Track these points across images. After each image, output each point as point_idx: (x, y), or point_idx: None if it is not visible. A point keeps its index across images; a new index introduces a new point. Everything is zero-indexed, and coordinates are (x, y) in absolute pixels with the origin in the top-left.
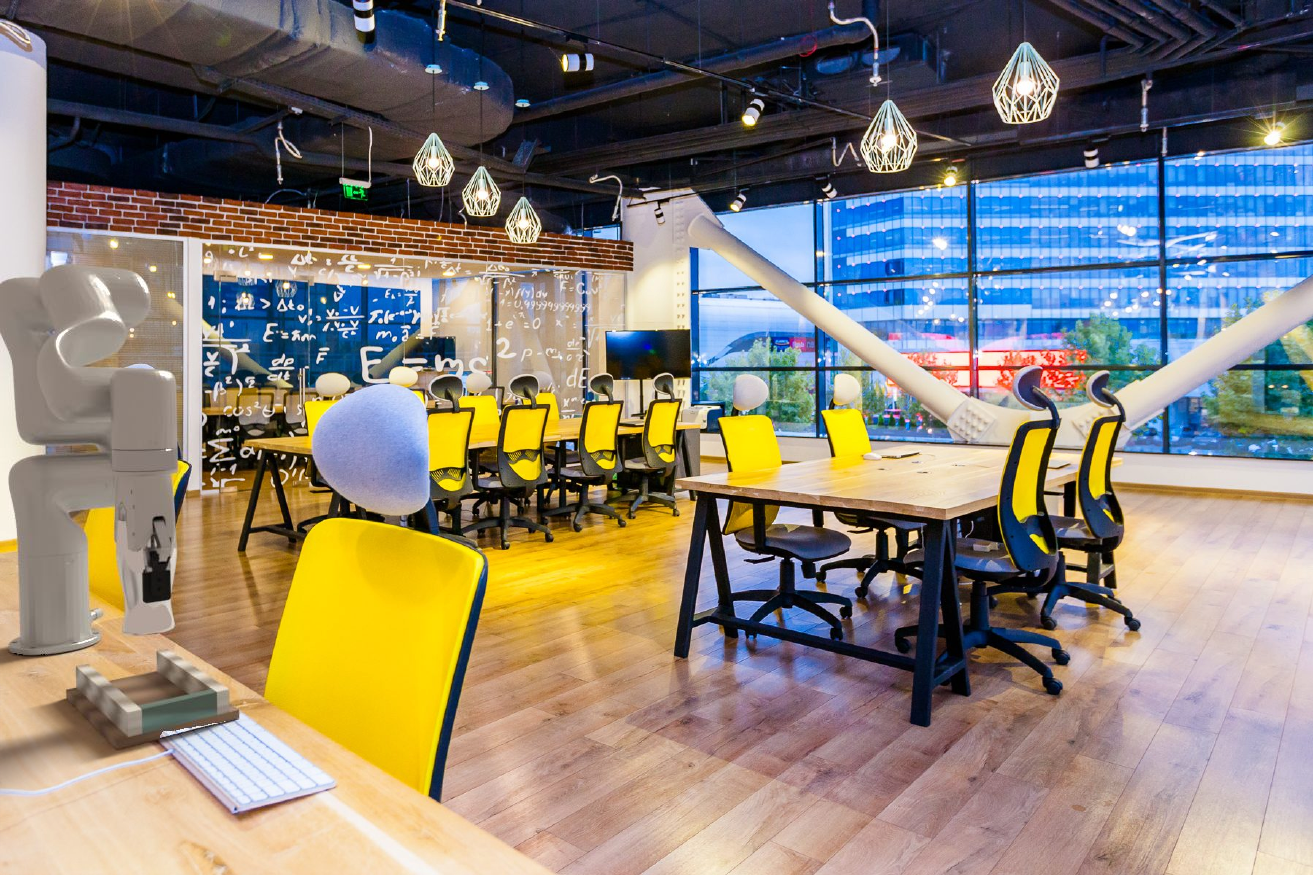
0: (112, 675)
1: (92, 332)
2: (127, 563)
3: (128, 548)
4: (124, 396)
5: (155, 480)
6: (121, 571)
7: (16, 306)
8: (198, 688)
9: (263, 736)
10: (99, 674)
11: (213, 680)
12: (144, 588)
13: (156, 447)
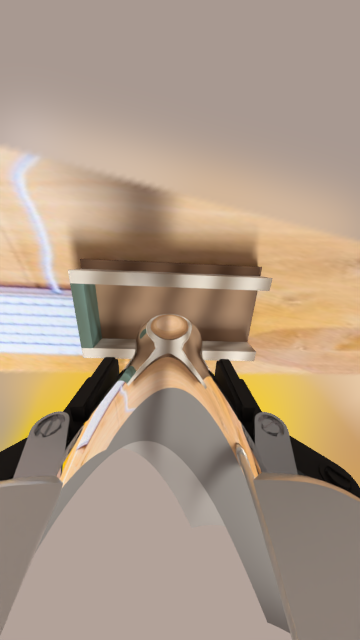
0: (287, 315)
1: None
2: (102, 406)
3: (46, 487)
4: None
5: None
6: (148, 373)
7: None
8: (134, 344)
9: (47, 348)
10: (220, 287)
11: (119, 356)
12: (93, 376)
13: None
